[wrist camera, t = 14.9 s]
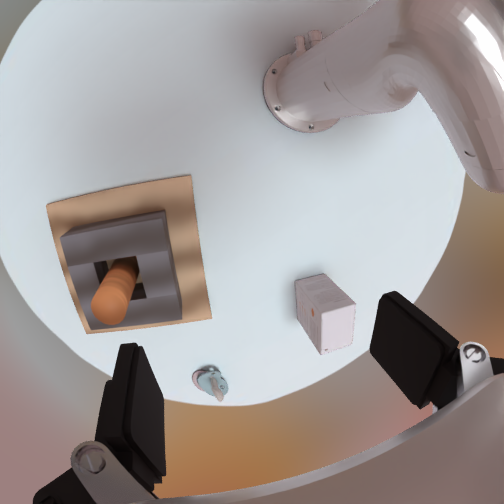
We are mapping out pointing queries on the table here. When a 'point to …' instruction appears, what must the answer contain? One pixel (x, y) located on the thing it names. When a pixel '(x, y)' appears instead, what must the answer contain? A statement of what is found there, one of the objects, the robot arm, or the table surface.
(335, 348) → the small box
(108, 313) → the peg
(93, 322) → the socket
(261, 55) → the table surface
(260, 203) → the table surface
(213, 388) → the pacifier
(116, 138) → the table surface
